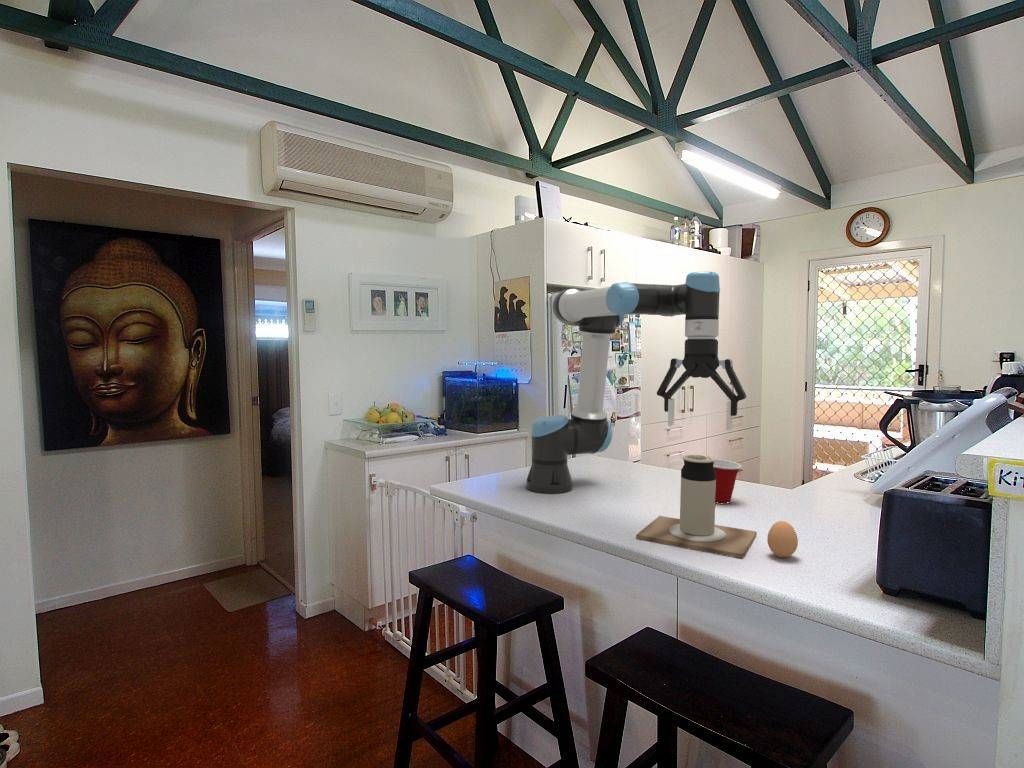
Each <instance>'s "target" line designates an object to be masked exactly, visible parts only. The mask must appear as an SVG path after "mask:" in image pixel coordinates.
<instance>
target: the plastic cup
mask: <svg viewBox="0 0 1024 768" xmlns="http://www.w3.org/2000/svg"><path fill="white" fill-rule="evenodd" d="M713 467H714V469H715V471H716V492H715V502H718V503H727V502H730V503H731V501H732V497H733V492H734V489H735V485H736V478H737V475H738V474H739V470H740V469H741V468H742V465H741V464H740V463H738V462H734V461H732V460H731V461H730V460H725V459H719V458H715V461H714V465H713Z"/></svg>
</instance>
